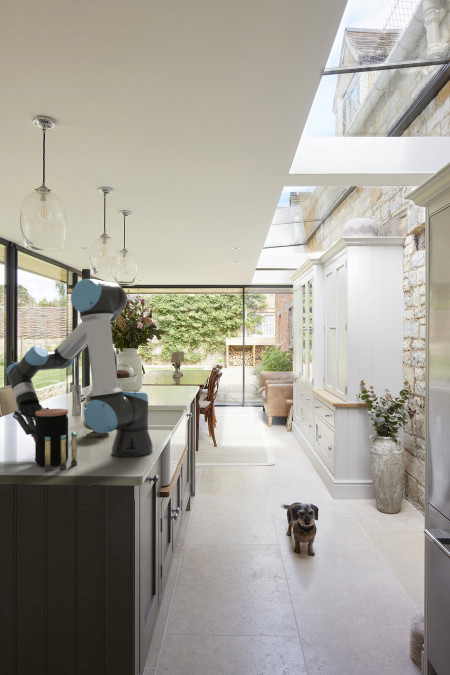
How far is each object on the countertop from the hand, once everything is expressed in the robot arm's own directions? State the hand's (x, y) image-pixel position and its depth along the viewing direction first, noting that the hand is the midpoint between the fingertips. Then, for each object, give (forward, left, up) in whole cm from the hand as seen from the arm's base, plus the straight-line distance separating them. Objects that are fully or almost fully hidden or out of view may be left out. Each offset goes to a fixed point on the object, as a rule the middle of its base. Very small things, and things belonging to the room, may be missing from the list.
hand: (43, 448), depth 155 cm
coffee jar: (-6, 0, -4) cm, 8 cm away
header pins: (-15, +1, -4) cm, 16 cm away
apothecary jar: (+19, -35, -4) cm, 40 cm away
